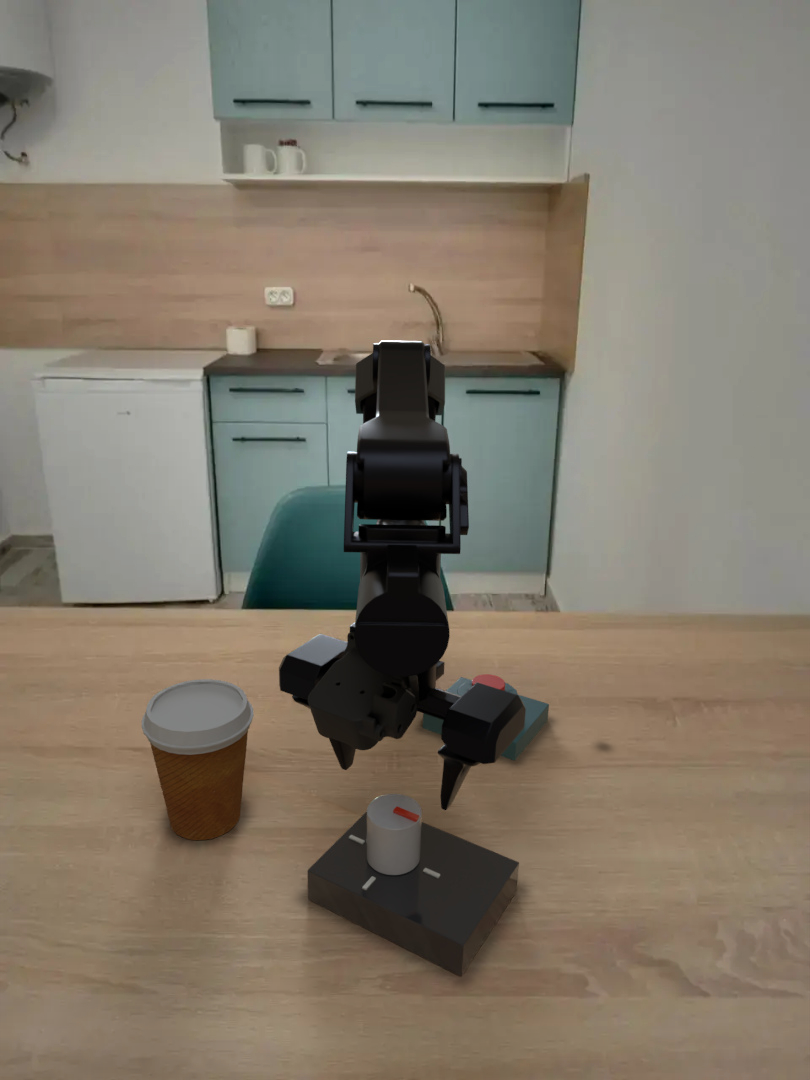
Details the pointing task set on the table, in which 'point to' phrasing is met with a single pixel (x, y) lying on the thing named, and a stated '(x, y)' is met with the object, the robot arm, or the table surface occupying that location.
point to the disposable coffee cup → (200, 753)
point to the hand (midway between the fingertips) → (395, 786)
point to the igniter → (533, 724)
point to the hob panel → (419, 893)
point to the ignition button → (490, 681)
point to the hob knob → (393, 834)
